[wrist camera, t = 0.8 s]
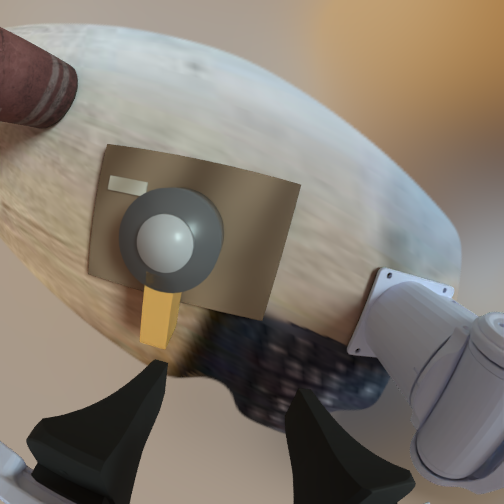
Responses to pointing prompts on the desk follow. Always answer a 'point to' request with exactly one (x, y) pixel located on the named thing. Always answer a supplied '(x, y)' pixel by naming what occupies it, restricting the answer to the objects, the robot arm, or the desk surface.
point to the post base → (232, 212)
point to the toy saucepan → (169, 252)
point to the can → (33, 83)
